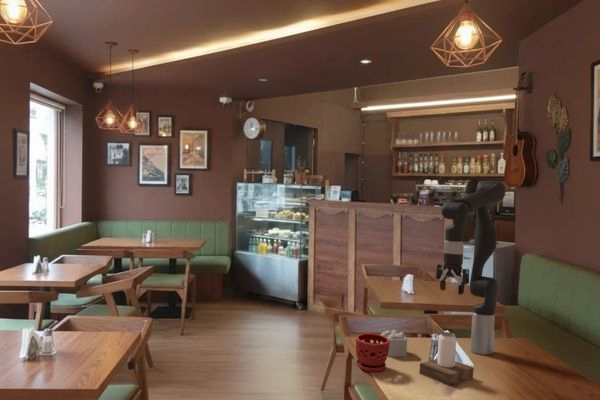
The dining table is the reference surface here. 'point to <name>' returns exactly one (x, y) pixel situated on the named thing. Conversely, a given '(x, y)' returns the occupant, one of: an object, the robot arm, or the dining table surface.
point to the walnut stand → (446, 372)
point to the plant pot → (371, 352)
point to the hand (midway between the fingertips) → (451, 292)
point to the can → (446, 350)
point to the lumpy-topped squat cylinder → (396, 343)
